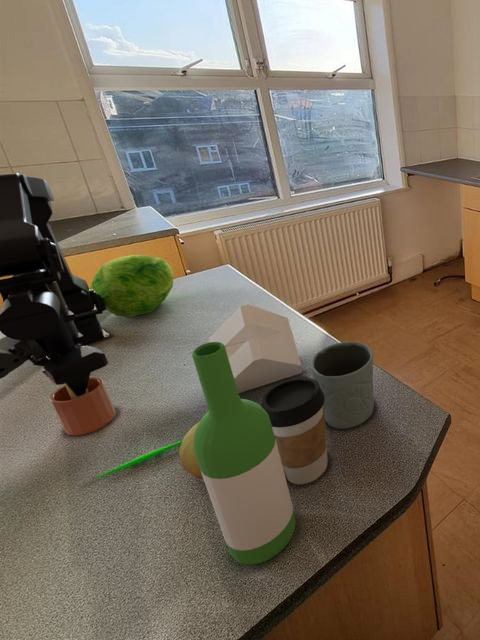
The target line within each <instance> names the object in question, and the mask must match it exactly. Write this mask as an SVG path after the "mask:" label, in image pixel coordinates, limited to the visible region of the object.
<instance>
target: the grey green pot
mask: <svg viewBox="0 0 480 640" xmlns="http://www.w3.org/2000/svg"><path fill="white" fill-rule="evenodd" d="M310 369H311V372H312V376H313V379H314V380H316V381H317V382H318V383H319V385H320V388H321V390H322V391H323V393H324V397H325V401H324V404H323V407H324V411H325V423H326V424H327V425H328V426H330V427H331V428H334V429H342V430H343V429H344V430H345V429H352V428H354V427H357V426H359V425H361V424H363V423H365V422H366V421H367V420H369V418H370V417H371V416H372V414H373V412H374V409H375V400H374V383H373V381H374V377H373V376H374V353H373V351H372V349H371V347H370V346H368V345H367V344H366V343H363V342H359V341H341V342H337V343H333V344H330V345H328V346H326V347H323V348H322V349H321V350H319V351H318V352H317V353H316V354H315V355H314V356H313V357H312V359H311V362H310Z"/></svg>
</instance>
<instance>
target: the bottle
mask: <svg viewBox="0 0 480 640" xmlns="http://www.w3.org/2000/svg"><path fill="white" fill-rule="evenodd" d="M191 356H192V360H193V363H194V366H195V370H196V373H197V376H198V379H199V382H200V386H201V389H202V392H203V394H204V399H205V401H206V405H207V408H208V409H207V412H206V413H205V414H204V415H203V416H202V418H201V419H200V420H199V421H198V422H199V423H198V422H197V423H198V425H197V428H196V431H195V434H194V438H193V445H194V452H195V455H196V458H197V461H198V464H199V467H200V470H201V473H202V476H203V478H202V479H203V481H204V485H205V487H206V490H207V493H208V497H209V498H210V501H211V505H212V507H213V511H214V513H215V516H216V519H217V521H218V525H219V528H220V530H221V533H222V535H223V538H224V539H223V540H224V541H225V543H226V546H227V549H228V553H229V554H230V555H231V557H232V558H233V560H234V561H236V562H238V563H239V564H241V565H245V566H253V565H259V564H262V563H265V562H267V561H269V560H271V559H272V558H274V557H275V556H277V555H278V554H280V553H281V552H282V551H283V550H284V548H285V547H287V545H288V544H289V543H290V541H291V539H292V537H293V535H294V533H295V530H296V519H297V518H296V515H295V511H294V505H293V501H292V498H291V494H290V490H289V486H288V482H287V477H286V474H285V471H284V469H283V466H282V462H281V459H280V455H279V451H278V447H277V443H276V439H275V436H274V432H273V428H272V425H271V421H270V418H269V416H268V414H267V412H266V411H265V410H264V409H263V408H262V407H261V404H259V403H257V402H255V401H253V400H249V399H246V398H241V396H240V393H238V390H237V387H236V383H235V380H234V376H233V373H232V370H231V366H230V363H229V359H228V356H227V353H226V349H225V346H224V344H223V343H220V342H206V343H203V344H201V345H198V346H197V347H196V348H195V349H194V350H193V351H192V353H191Z"/></svg>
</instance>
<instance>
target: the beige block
mask: <svg viewBox="0 0 480 640" xmlns="http://www.w3.org/2000/svg"><path fill="white" fill-rule="evenodd" d="M210 342H220V343H223V344H224V346H225V349H226V353H227V356H228V359H229V363H230V366H231V370H232V373H233V376H234V380H235V383H236V387H237V390H238V393H239V394H241V393H244V392H247V391H250V390H253V389H257V388H260V387H263V386H265V385H269V384H272V383H275V382H278V381H281V380H283V379H287V378H291V377H293V376H297V375H299V374H302V373H303V368H302V367H303V366H302V362H301V359H300V355H299V351H298V348H297V344H296V341H295V338H294V334H293V331H292V328H291V324H290V320H289V318H288V317H287V316H283V315H281V314H279V313H275V312H272V311H269V310H266V309H264V308H260V307H258V306H254V305H252V304H244V305H240V306H238V308H237V309H235V311H234V312H233V313H231V315H230V316H228V318H227V319H226V320H225V321H224V322H223V323H222V324H221V325H220V326H219V327H218V328H217V329H216V330H215V331H214V332H213V333H212V334H211V335H210V336H209V337H208V343H210Z"/></svg>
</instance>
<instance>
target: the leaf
mask: <svg viewBox="0 0 480 640" xmlns="http://www.w3.org/2000/svg"><path fill="white" fill-rule="evenodd" d="M182 441H183V439H182V440H179V441H176V442H174V443H171V444H168V445H165V446H162V447H160V448H157V449H155V450H152V451H149V452H146V453H145V454H142V455H139V456H138V457H135V458H133V459H130V460H128V461H127V462H125V463H122V464H120V465H118V466H115V467H114V468H112V469H110V470H108V471H106V472H104V473H101V474H100V475H97V476H95V477H93V478H91V479H90V480H91V481H92V480H94V479H97V478H100V477H103V476H106V475H108V474H109V475H110V474H111V473H114V472H117V471H120V470H123V469H126V468H128V467H131V466H134V465H137V464H139V463H141V462H144V461H146V460H149V459H151V458H153V457H156V456H158V455H160V454H162V453H164V452H167V451H168V450H172V448H175V447H178V446H179V445H181V444H182Z"/></svg>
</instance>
